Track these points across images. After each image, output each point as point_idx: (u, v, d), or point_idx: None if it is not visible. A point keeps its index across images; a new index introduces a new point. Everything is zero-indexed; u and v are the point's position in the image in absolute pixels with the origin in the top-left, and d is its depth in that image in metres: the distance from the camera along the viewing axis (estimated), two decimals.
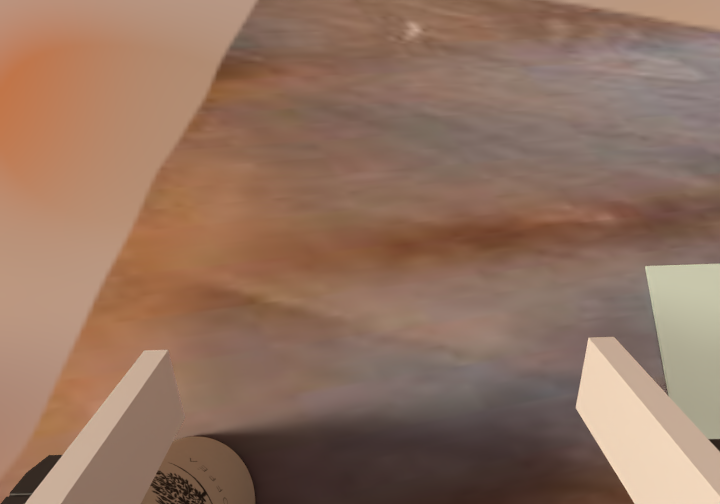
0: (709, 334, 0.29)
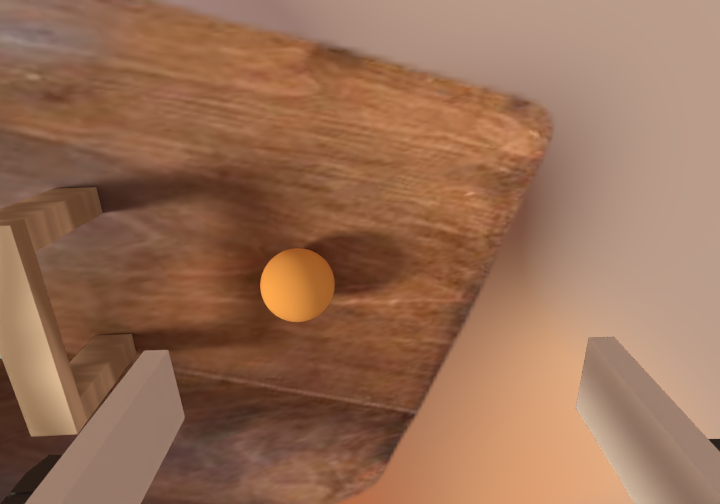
0: None
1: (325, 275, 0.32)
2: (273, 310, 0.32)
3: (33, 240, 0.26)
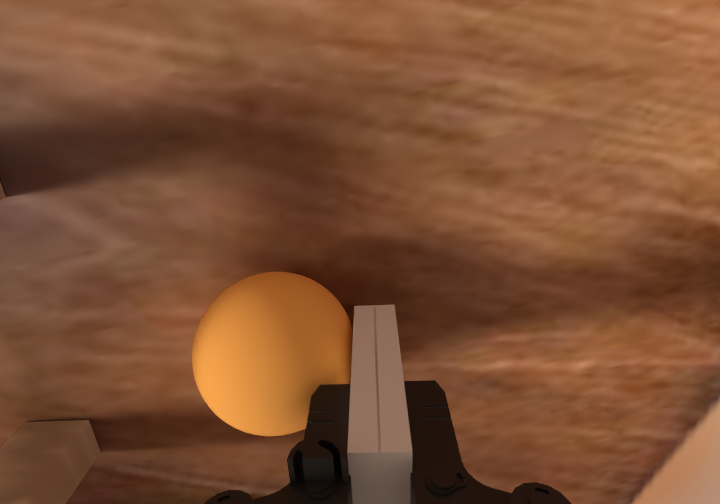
0: None
1: (254, 363, 0.13)
2: None
3: None
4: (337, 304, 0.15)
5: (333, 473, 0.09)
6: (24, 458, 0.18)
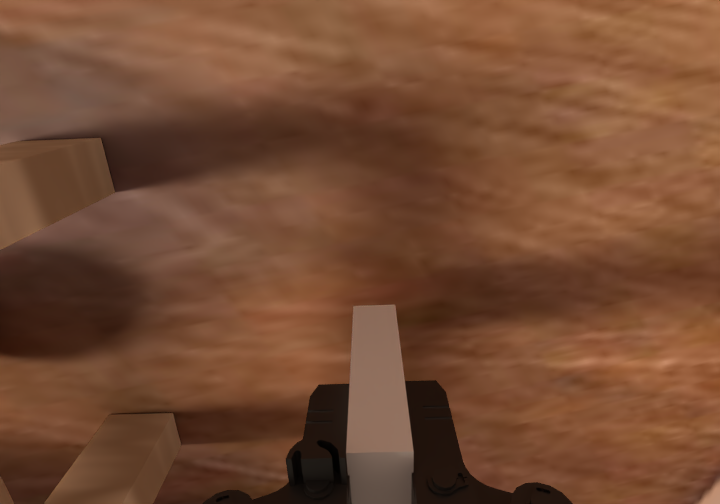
0: None
1: None
2: None
3: None
4: None
5: (332, 473, 0.09)
6: (118, 450, 0.19)
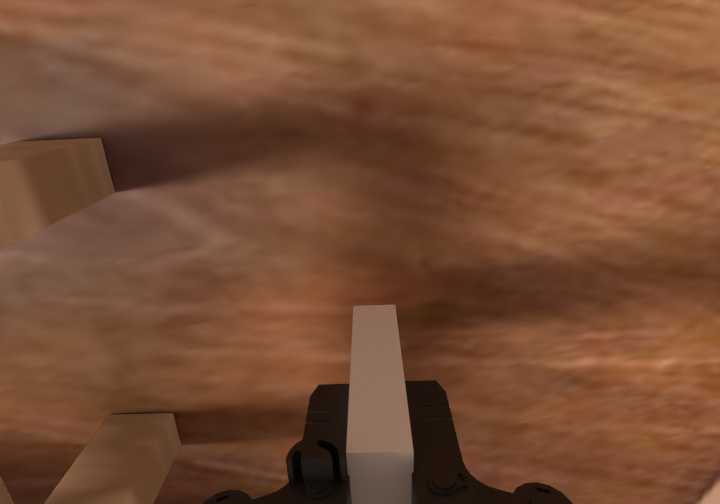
0: None
1: None
2: None
3: None
4: None
5: (332, 473, 0.09)
6: (118, 450, 0.19)
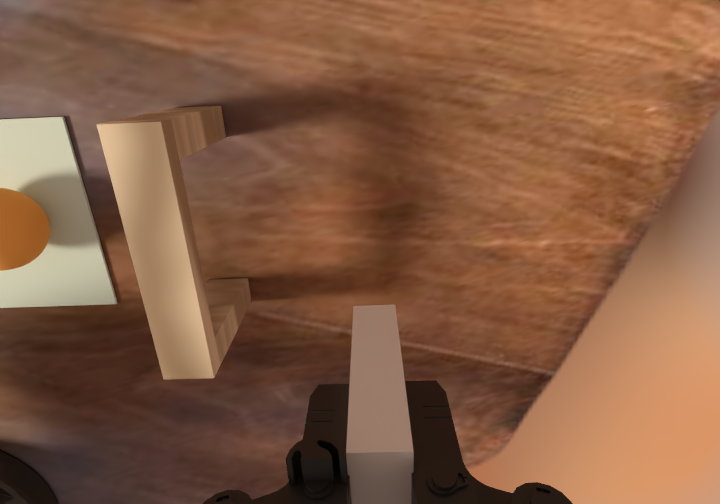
0: None
1: None
2: (45, 240, 0.30)
3: (178, 146, 0.22)
4: None
5: (332, 473, 0.09)
6: (220, 291, 0.32)
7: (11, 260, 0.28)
